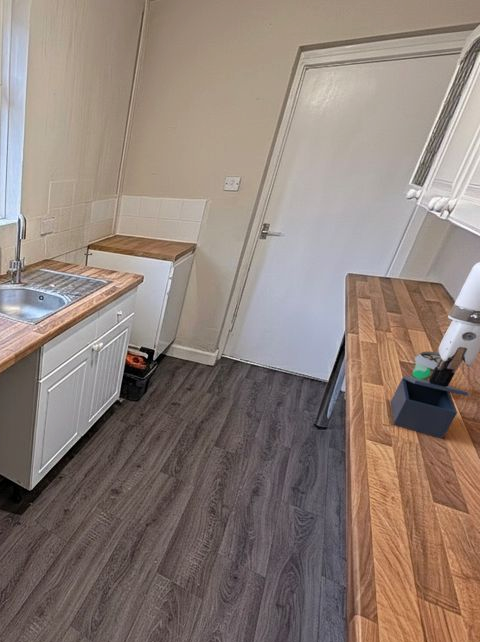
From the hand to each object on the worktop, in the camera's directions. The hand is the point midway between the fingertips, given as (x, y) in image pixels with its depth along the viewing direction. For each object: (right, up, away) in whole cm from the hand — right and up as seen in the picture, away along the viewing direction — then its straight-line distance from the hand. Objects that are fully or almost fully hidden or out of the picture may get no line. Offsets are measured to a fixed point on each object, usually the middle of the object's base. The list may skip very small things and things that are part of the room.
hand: (437, 383), depth 103 cm
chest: (+3, -10, +8) cm, 13 cm away
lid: (+3, -1, +4) cm, 5 cm away
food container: (+22, -3, +25) cm, 33 cm away
